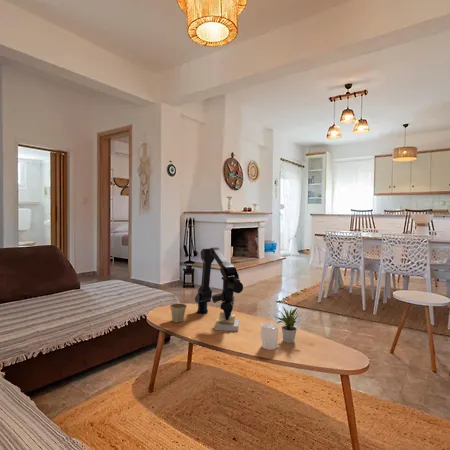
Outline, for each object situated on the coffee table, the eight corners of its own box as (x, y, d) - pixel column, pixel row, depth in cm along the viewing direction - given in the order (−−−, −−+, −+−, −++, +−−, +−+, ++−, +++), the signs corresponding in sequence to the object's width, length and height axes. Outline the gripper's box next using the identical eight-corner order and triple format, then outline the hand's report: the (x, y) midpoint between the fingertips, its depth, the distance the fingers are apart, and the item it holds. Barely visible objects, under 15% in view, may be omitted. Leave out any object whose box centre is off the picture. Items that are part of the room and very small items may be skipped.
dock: (217, 322, 179) (217, 318, 179) (238, 324, 178) (238, 319, 178) (214, 329, 168) (215, 324, 168) (238, 331, 167) (238, 326, 167)
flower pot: (185, 324, 176) (185, 308, 176) (167, 323, 176) (168, 307, 176) (187, 318, 186) (187, 303, 185) (171, 318, 186) (171, 303, 185)
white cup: (273, 352, 143) (274, 329, 142) (257, 347, 147) (258, 325, 147) (280, 346, 149) (281, 324, 149) (265, 342, 154) (265, 321, 153)
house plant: (282, 332, 167) (283, 301, 167) (307, 338, 159) (309, 305, 159) (269, 340, 156) (270, 307, 155) (296, 348, 148) (297, 312, 147)
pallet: (219, 322, 170) (219, 315, 170) (220, 318, 176) (220, 312, 176) (234, 323, 170) (234, 316, 170) (234, 319, 176) (235, 313, 176)
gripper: (215, 284, 183) (214, 312, 183) (211, 292, 164) (210, 323, 164) (234, 285, 182) (233, 313, 182) (232, 293, 163) (232, 324, 164)
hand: (227, 318), depth 173 cm, fingers closed on pallet, 6 cm apart
